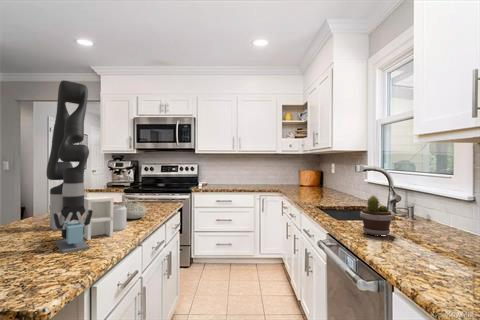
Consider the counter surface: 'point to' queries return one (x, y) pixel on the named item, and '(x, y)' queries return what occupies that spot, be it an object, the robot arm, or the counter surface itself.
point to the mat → (71, 246)
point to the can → (119, 217)
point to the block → (74, 232)
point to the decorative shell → (134, 209)
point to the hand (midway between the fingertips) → (72, 237)
